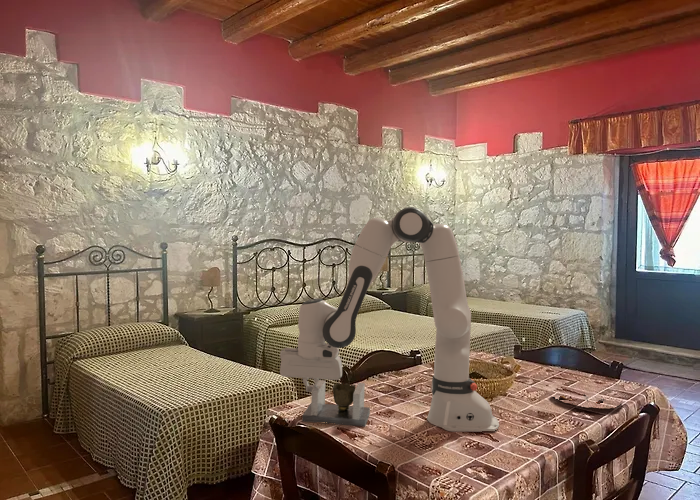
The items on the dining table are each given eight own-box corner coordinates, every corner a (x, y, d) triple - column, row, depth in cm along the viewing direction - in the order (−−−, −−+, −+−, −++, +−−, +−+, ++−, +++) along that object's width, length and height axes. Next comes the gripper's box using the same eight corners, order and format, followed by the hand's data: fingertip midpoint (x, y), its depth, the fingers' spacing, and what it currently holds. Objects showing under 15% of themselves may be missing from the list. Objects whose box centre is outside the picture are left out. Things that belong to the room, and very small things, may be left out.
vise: (369, 413, 181) (370, 383, 181) (365, 426, 170) (366, 394, 169) (310, 408, 184) (311, 379, 184) (302, 421, 173) (303, 389, 172)
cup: (351, 415, 174) (352, 390, 173) (329, 412, 175) (330, 387, 175) (357, 407, 181) (357, 383, 181) (335, 405, 183) (336, 381, 182)
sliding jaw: (324, 403, 184) (325, 380, 183) (317, 415, 172) (317, 391, 171) (319, 403, 184) (319, 380, 184) (311, 415, 172) (311, 390, 172)
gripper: (277, 349, 176) (276, 391, 176) (340, 353, 173) (339, 396, 173) (283, 345, 182) (282, 386, 183) (343, 348, 179) (342, 390, 180)
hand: (310, 391), depth 178 cm, fingers closed
